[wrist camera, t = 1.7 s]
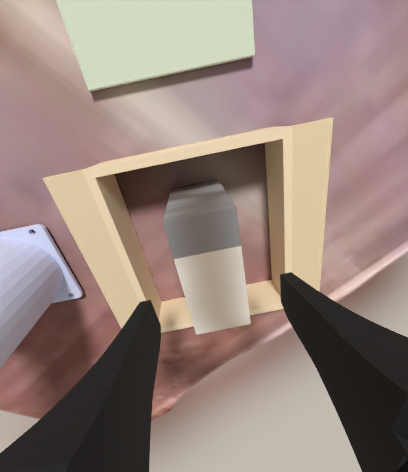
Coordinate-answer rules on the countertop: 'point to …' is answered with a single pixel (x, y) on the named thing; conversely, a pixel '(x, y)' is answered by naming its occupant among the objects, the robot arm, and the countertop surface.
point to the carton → (276, 152)
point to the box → (208, 255)
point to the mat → (155, 37)
